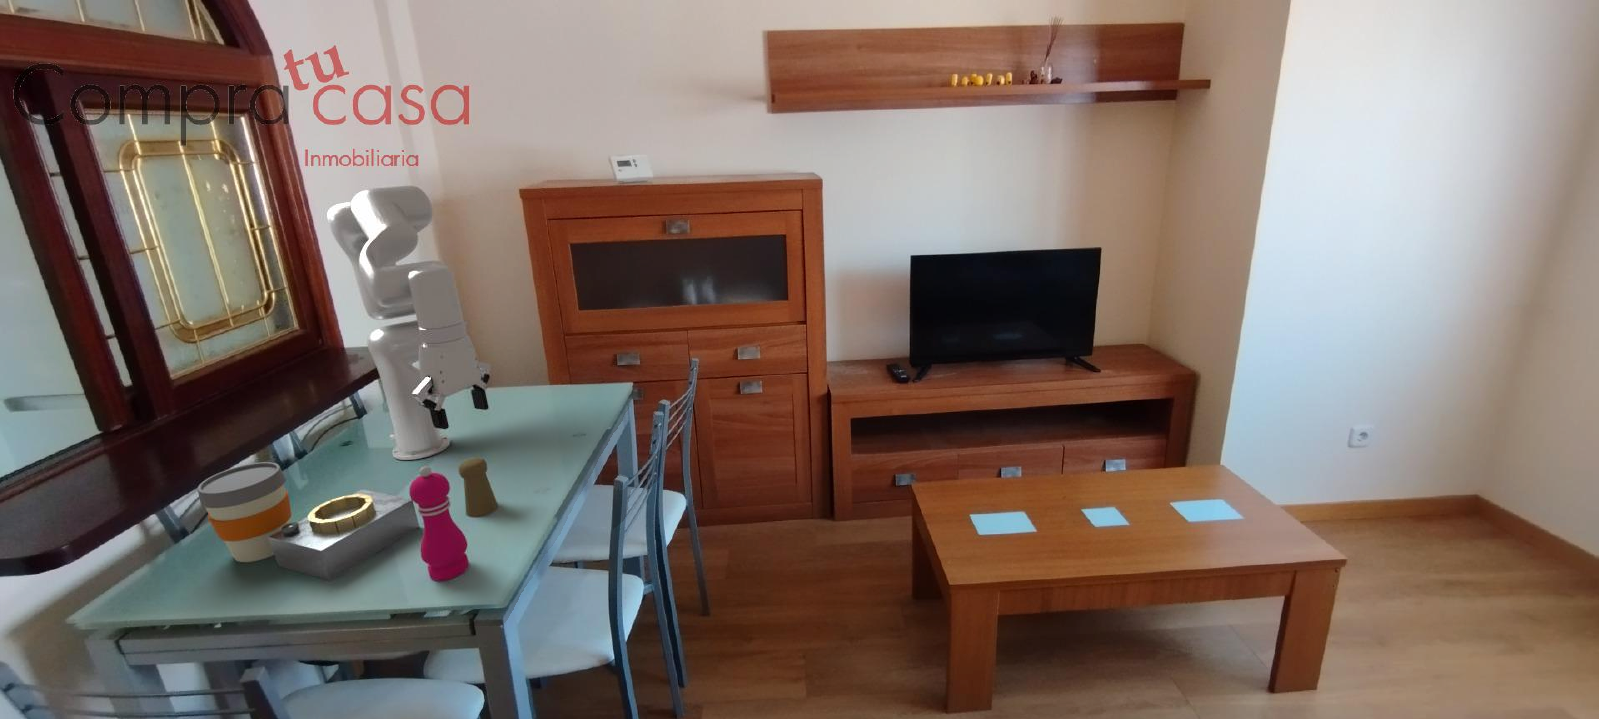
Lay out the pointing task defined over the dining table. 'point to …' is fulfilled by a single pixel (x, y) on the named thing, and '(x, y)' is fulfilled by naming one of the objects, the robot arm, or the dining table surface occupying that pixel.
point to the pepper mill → (438, 527)
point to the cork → (477, 488)
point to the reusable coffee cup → (247, 508)
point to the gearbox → (343, 533)
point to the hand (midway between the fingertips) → (462, 418)
